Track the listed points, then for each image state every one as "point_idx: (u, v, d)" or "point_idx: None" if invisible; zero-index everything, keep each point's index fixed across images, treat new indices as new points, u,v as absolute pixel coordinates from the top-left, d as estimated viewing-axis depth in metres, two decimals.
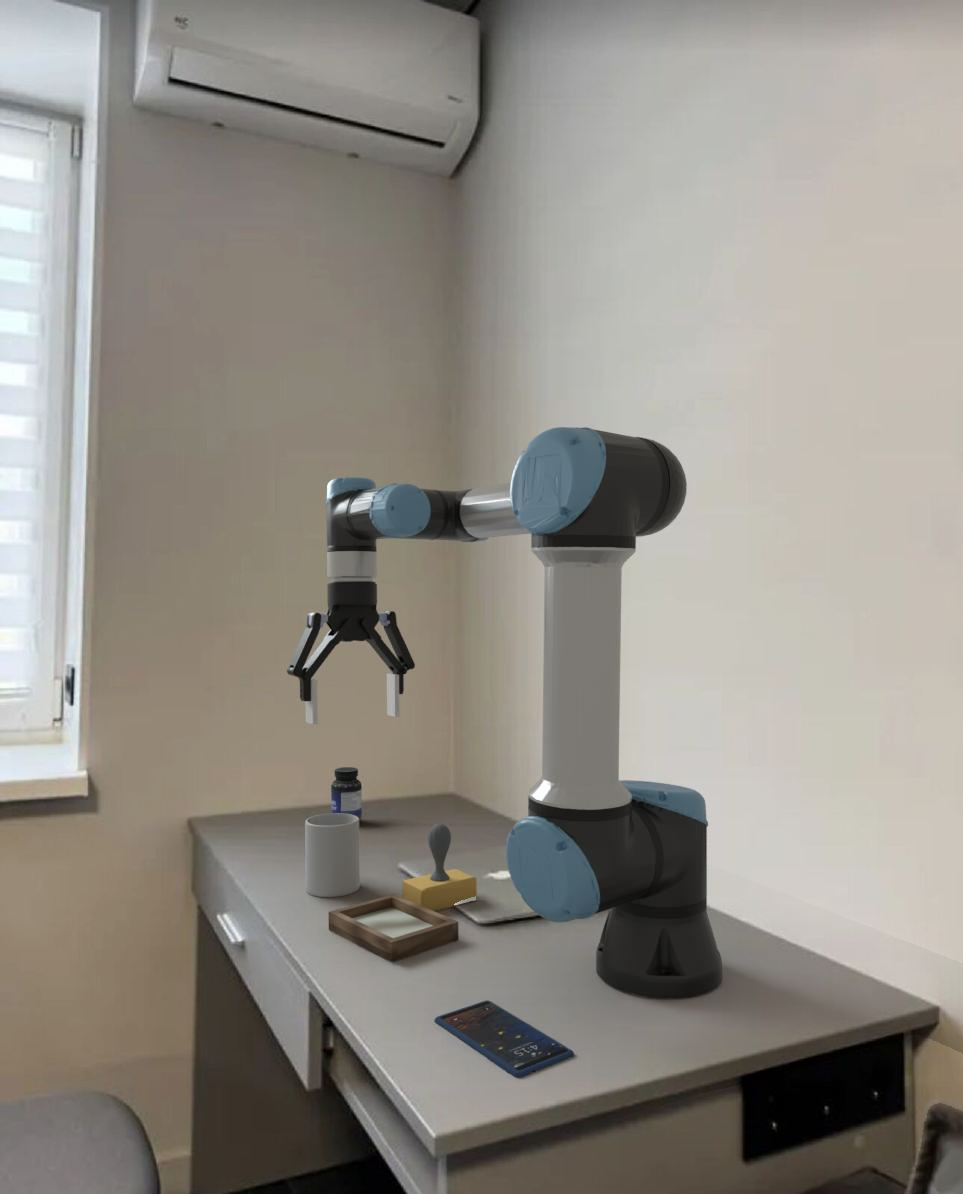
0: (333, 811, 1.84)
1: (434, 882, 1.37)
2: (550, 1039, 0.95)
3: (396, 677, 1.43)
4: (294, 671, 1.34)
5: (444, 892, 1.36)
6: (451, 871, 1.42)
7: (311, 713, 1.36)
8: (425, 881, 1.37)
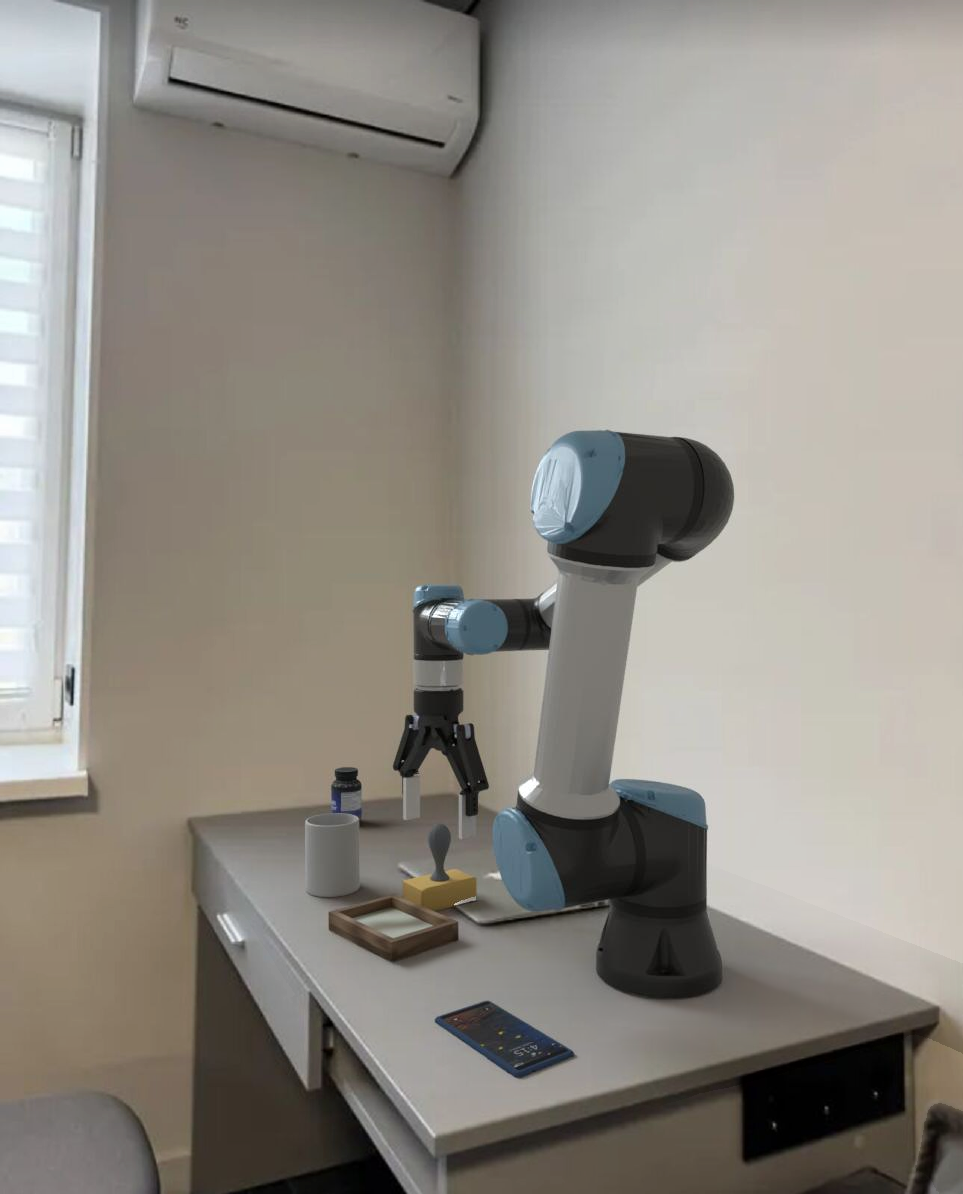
0: (333, 811, 1.84)
1: (434, 882, 1.37)
2: (550, 1039, 0.95)
3: (460, 796, 1.33)
4: (393, 765, 1.46)
5: (444, 892, 1.36)
6: (451, 871, 1.42)
7: None
8: (425, 881, 1.37)
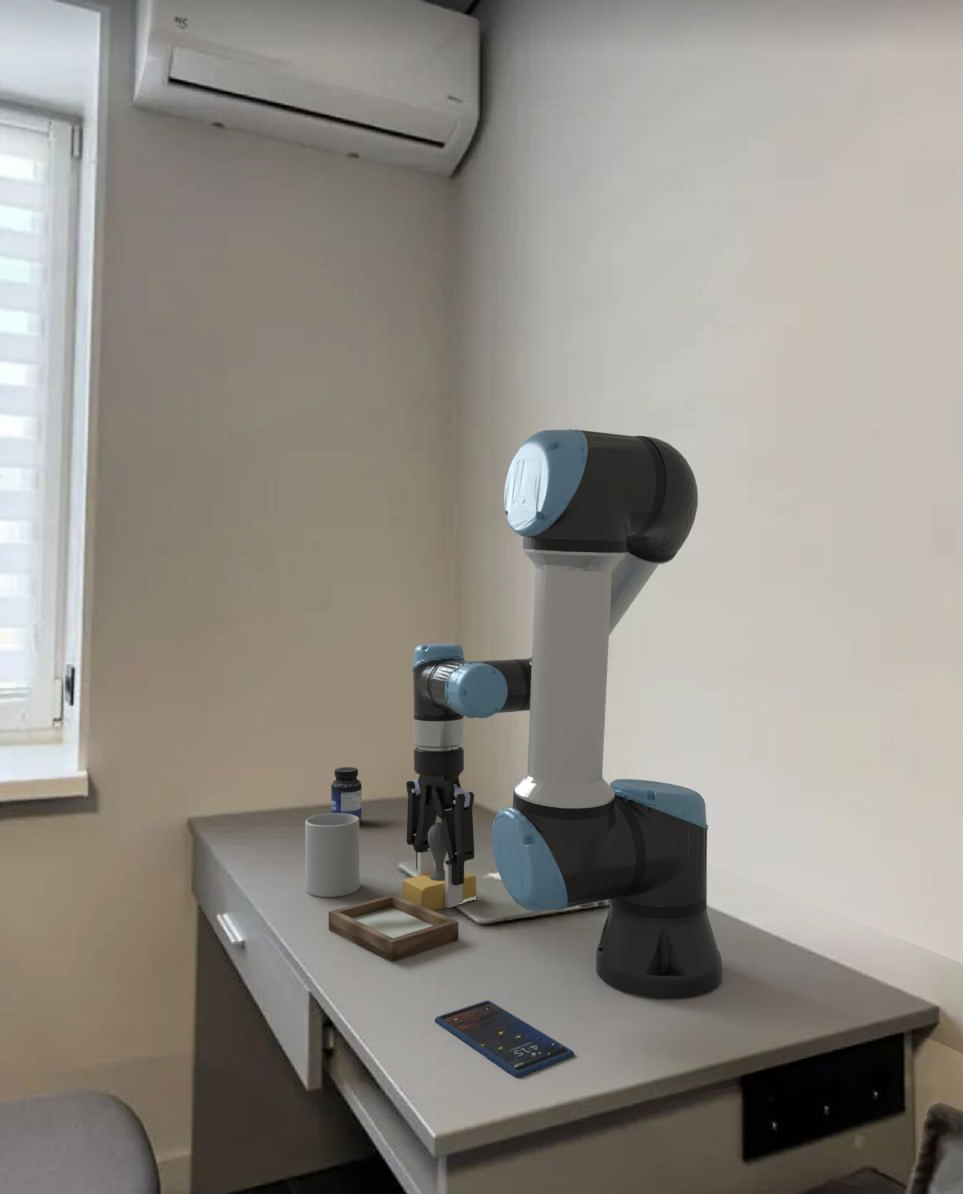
0: (333, 811, 1.84)
1: (434, 881, 1.37)
2: (550, 1039, 0.95)
3: (446, 865, 1.35)
4: (407, 840, 1.43)
5: None
6: None
7: None
8: (425, 881, 1.37)
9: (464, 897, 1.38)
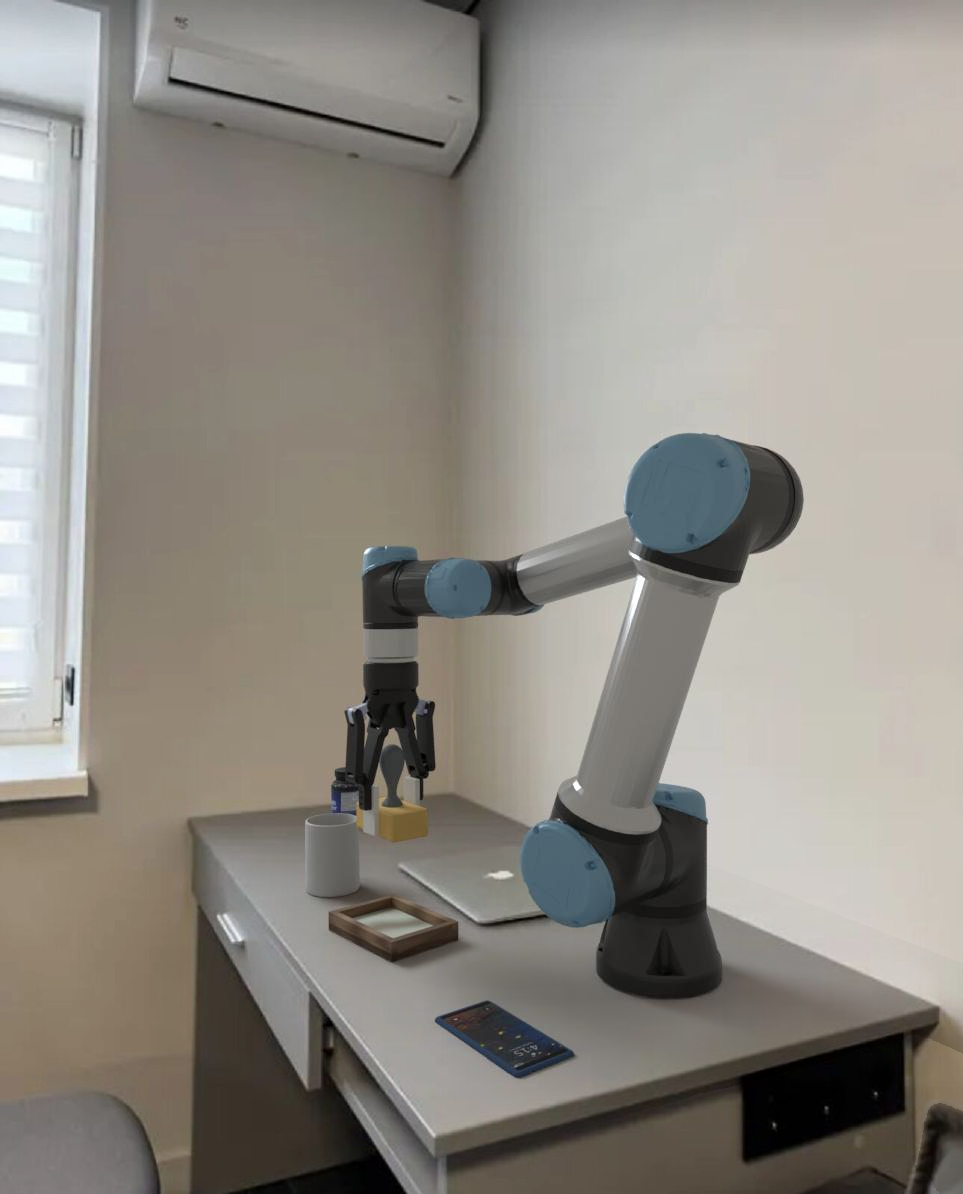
0: (333, 811, 1.84)
1: (405, 805, 1.25)
2: (550, 1039, 0.95)
3: (417, 782, 1.27)
4: (356, 780, 1.20)
5: None
6: None
7: (372, 823, 1.23)
8: (402, 808, 1.24)
9: None
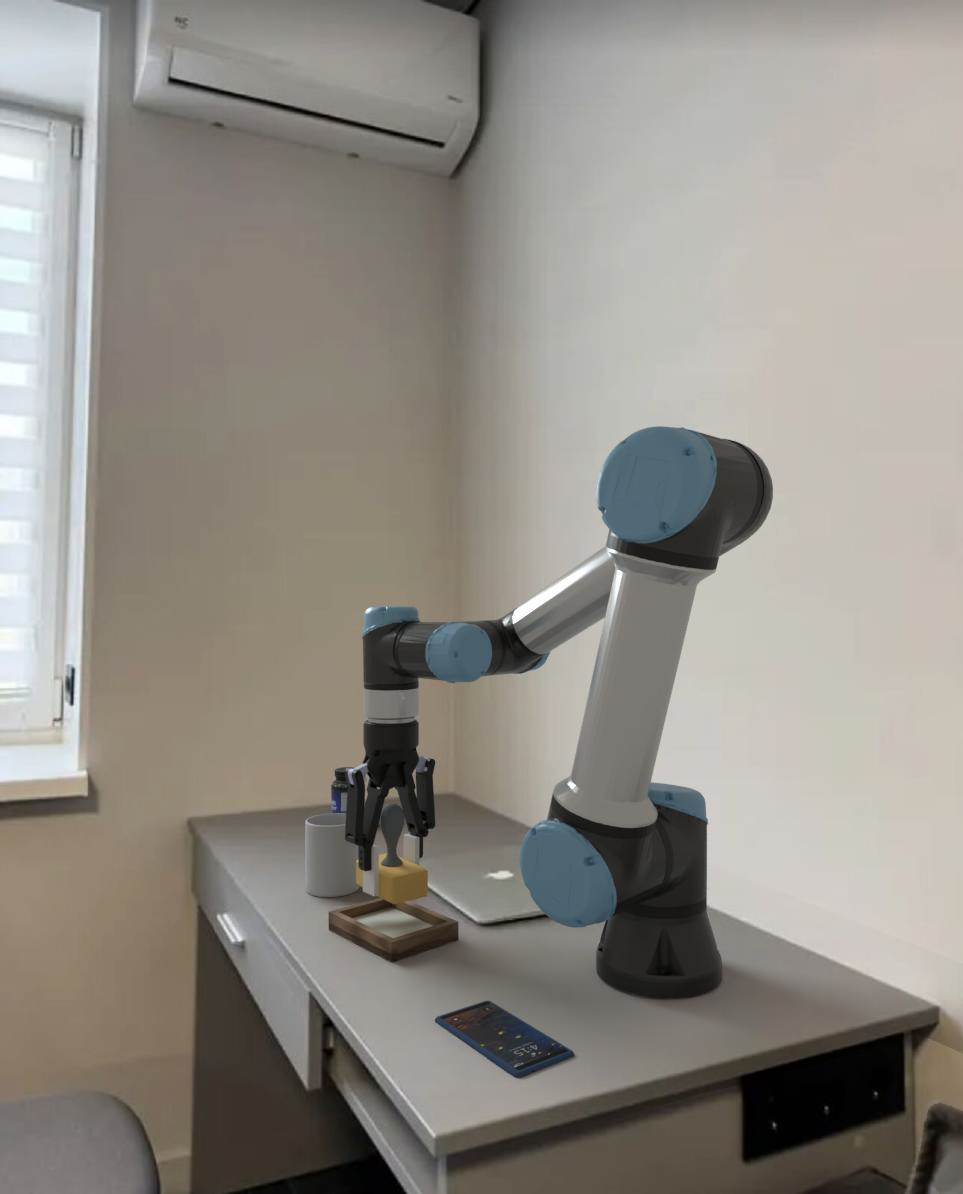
0: (333, 811, 1.84)
1: (404, 865, 1.25)
2: (550, 1039, 0.95)
3: (416, 840, 1.27)
4: (356, 841, 1.20)
5: None
6: None
7: (372, 883, 1.23)
8: (402, 868, 1.24)
9: None
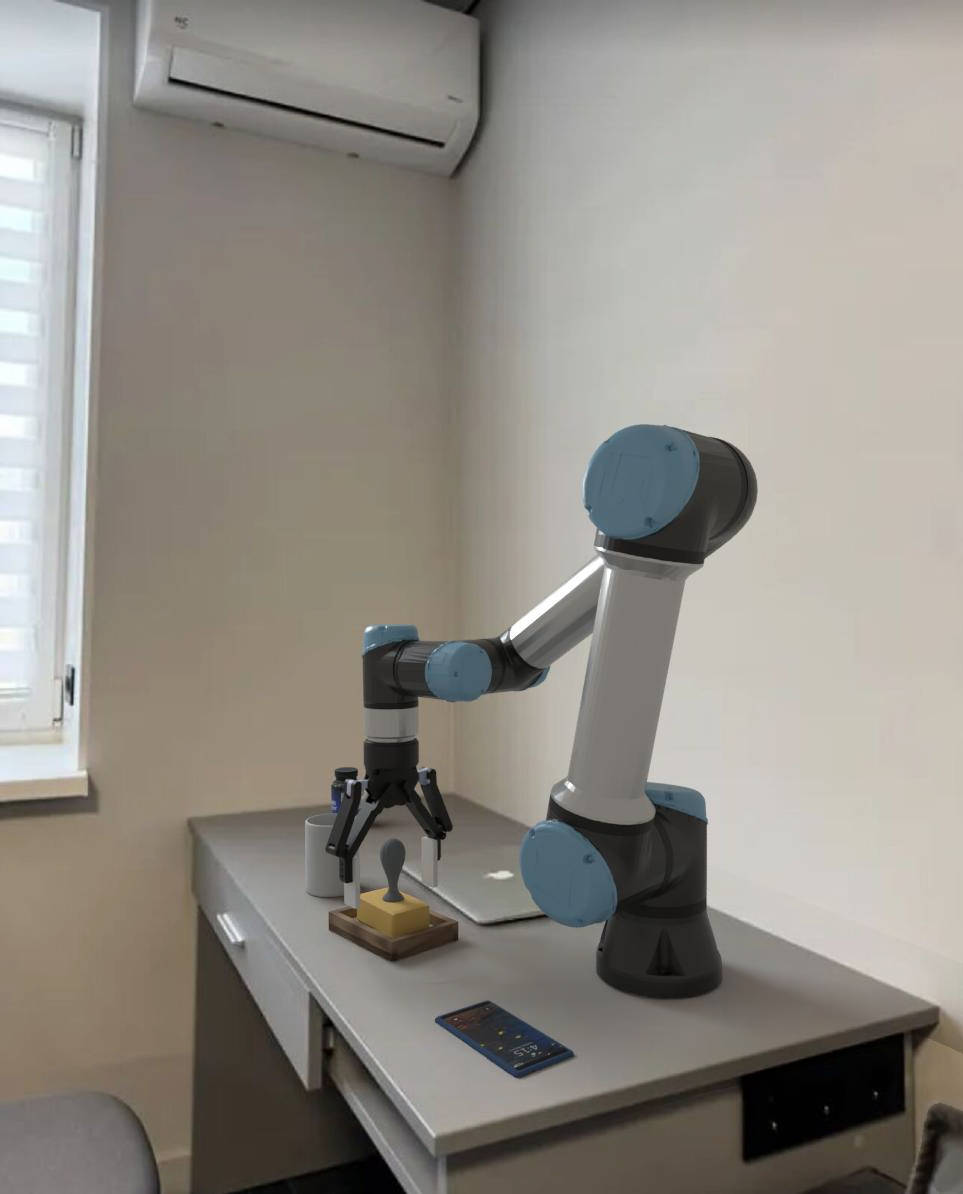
0: (333, 811, 1.84)
1: (406, 900, 1.25)
2: (550, 1039, 0.95)
3: (434, 843, 1.29)
4: (336, 852, 1.18)
5: None
6: (369, 895, 1.27)
7: (353, 896, 1.21)
8: (403, 903, 1.24)
9: None
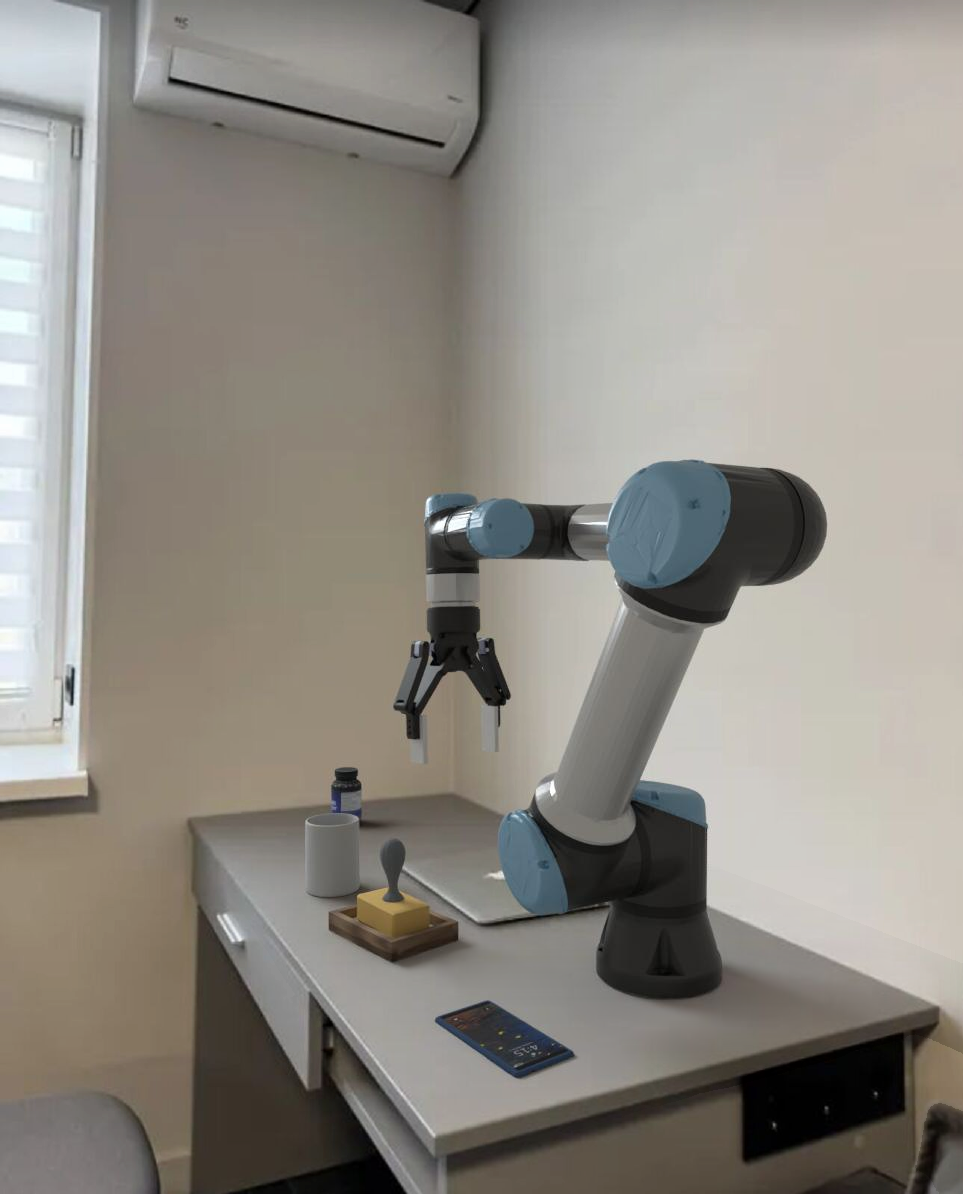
0: (333, 811, 1.84)
1: (406, 900, 1.25)
2: (550, 1039, 0.95)
3: (495, 709, 1.33)
4: (406, 706, 1.21)
5: None
6: (369, 895, 1.27)
7: (420, 752, 1.23)
8: (403, 903, 1.24)
9: None
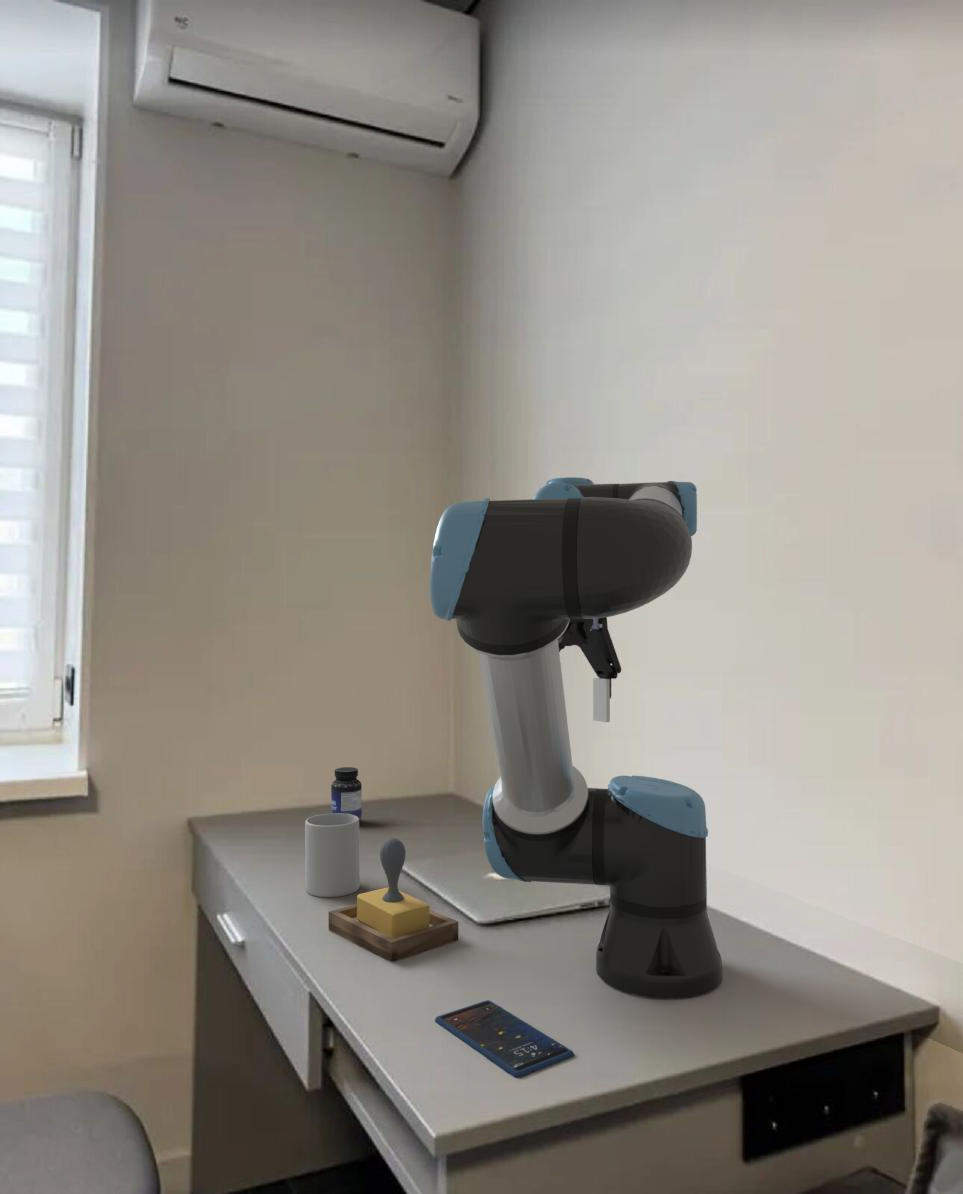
0: (333, 811, 1.84)
1: (406, 900, 1.25)
2: (550, 1039, 0.95)
3: (607, 682, 1.40)
4: None
5: None
6: (369, 895, 1.27)
7: None
8: (403, 903, 1.24)
9: None
